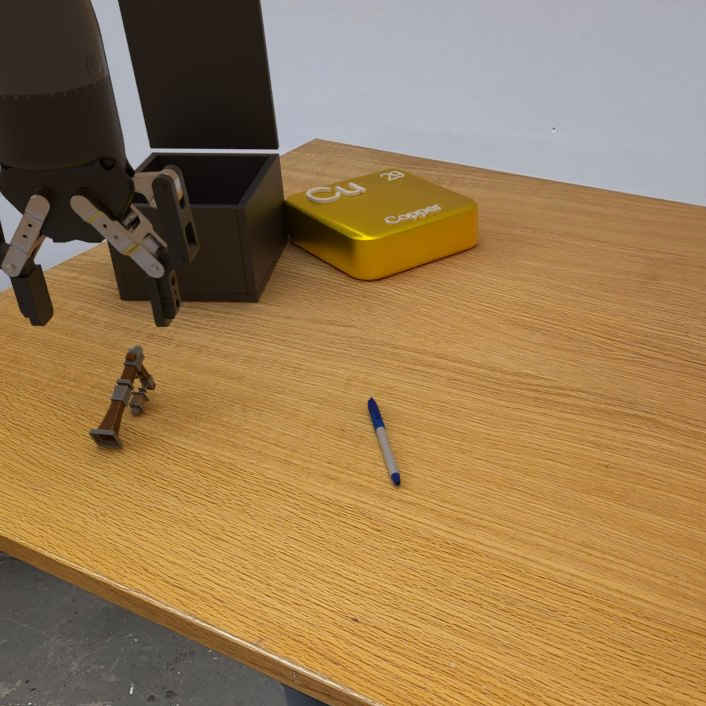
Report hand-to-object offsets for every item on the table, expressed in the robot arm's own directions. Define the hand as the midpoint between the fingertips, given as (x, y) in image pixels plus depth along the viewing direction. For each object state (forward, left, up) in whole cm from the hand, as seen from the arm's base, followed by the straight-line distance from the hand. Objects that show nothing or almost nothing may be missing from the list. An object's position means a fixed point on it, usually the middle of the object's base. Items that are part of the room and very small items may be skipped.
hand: (104, 321), depth 64 cm
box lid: (-1, +33, +9) cm, 34 cm away
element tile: (+15, +34, -8) cm, 38 cm away
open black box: (-1, +27, -8) cm, 28 cm away
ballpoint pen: (+19, -2, -8) cm, 21 cm away
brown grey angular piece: (0, 0, -8) cm, 8 cm away
